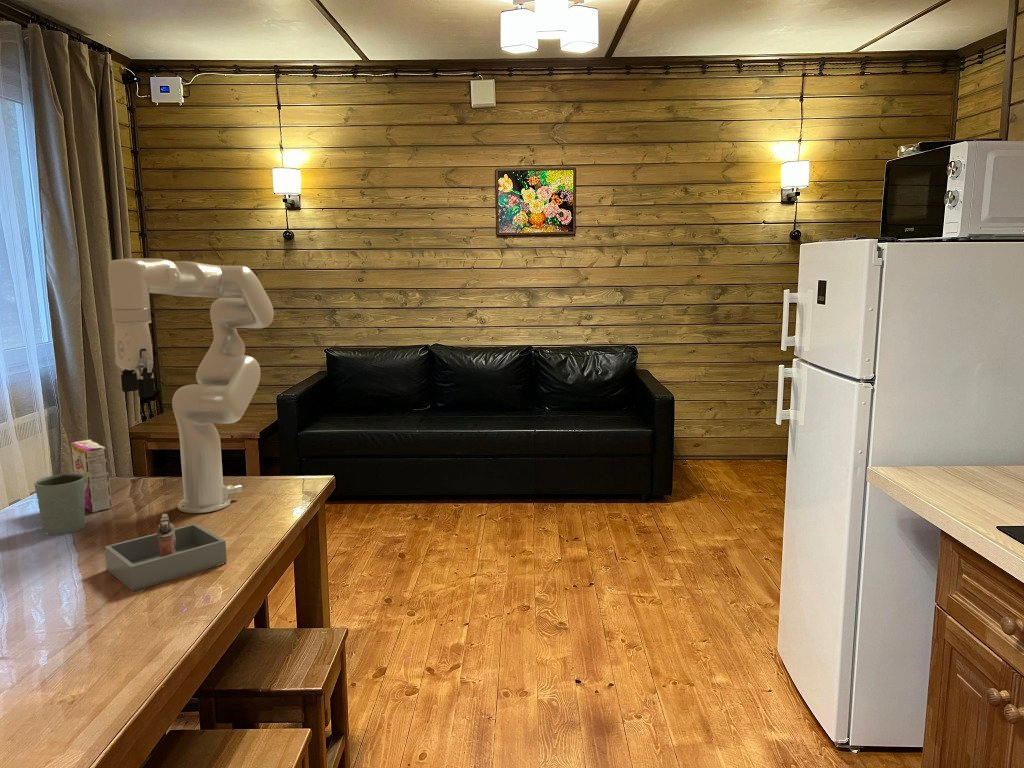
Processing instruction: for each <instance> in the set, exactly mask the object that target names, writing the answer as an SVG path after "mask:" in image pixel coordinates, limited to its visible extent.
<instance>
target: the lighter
mask: <svg viewBox="0 0 1024 768" xmlns="http://www.w3.org/2000/svg"><path fill="white" fill-rule="evenodd" d="M175 528H176V527H175V525H174V523H172V522H170V518H169V515H168V514H167V513H162V515H161V518H160V522H159V525H158V527H157V528H156V533H157V537H158V540H159V553H160V557H163V556H167V555H170V554H174V553H176V552H175V546H176V538H175Z"/></svg>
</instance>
